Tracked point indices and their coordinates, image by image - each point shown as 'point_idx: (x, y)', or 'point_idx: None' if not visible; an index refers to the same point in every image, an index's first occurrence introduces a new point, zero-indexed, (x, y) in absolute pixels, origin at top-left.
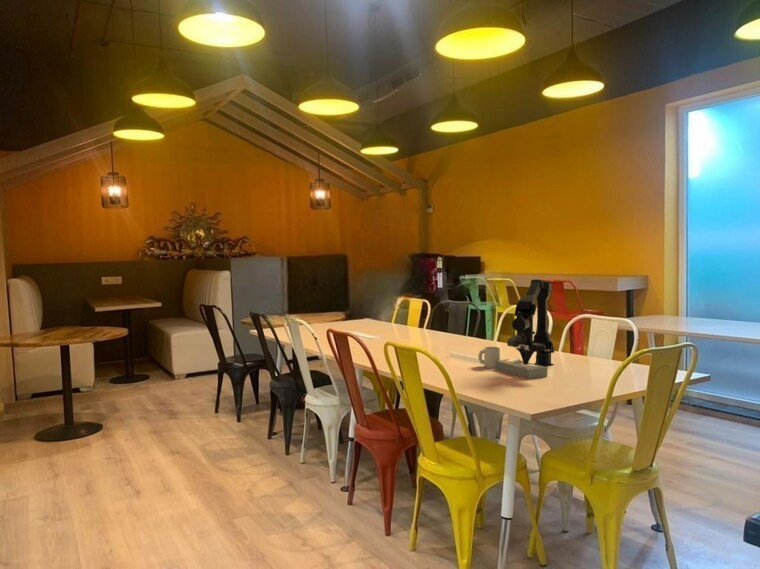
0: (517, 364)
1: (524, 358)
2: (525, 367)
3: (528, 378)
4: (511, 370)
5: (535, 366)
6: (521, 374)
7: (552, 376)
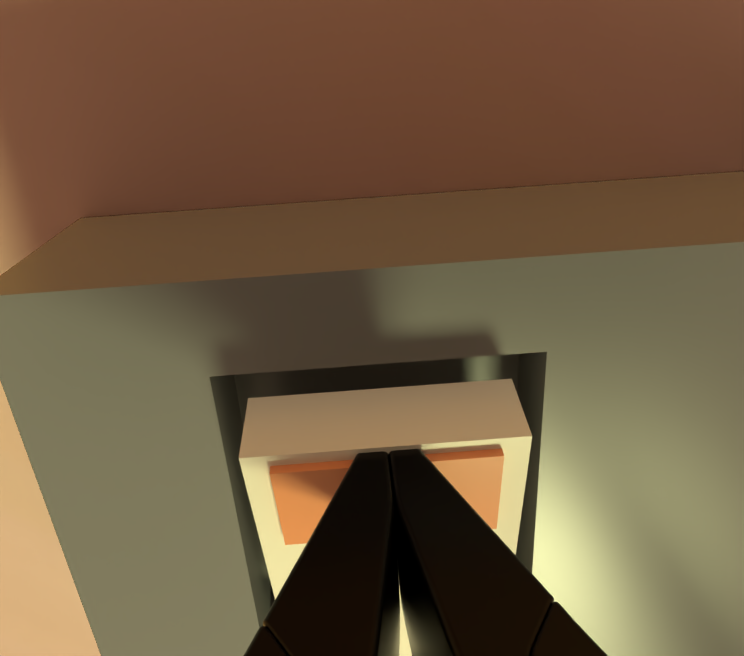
0: (736, 417)
1: (349, 590)
2: None
3: (86, 219)
4: (713, 193)
5: None
6: (325, 214)
7: None
